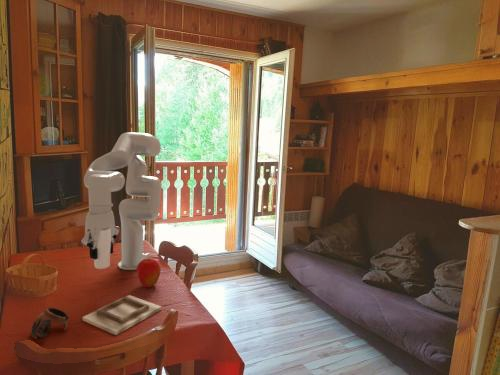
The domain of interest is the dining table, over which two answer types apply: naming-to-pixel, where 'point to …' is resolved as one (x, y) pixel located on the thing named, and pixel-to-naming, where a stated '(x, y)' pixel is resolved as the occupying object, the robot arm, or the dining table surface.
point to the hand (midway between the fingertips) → (101, 255)
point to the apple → (148, 272)
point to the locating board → (121, 314)
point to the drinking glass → (103, 249)
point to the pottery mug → (48, 322)
